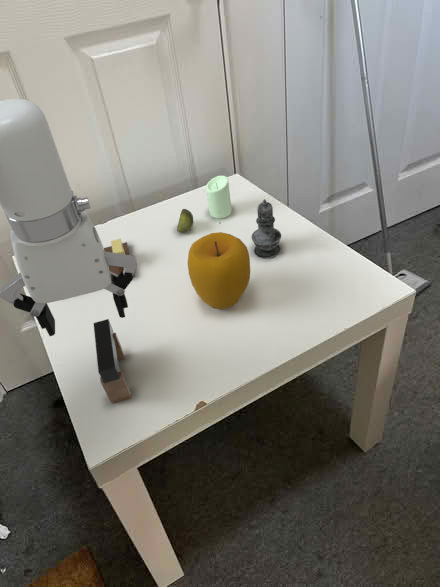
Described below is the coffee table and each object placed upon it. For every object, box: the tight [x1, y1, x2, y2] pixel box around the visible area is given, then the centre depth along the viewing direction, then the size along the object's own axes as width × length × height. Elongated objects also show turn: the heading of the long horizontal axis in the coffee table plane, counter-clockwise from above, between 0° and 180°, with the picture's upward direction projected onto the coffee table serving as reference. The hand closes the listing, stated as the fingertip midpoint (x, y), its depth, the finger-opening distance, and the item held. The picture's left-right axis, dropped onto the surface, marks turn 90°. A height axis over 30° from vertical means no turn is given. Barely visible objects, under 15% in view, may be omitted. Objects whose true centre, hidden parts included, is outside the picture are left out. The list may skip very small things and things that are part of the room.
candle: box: [205, 175, 233, 219], centre depth 101 cm, size 5×5×8 cm
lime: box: [176, 208, 194, 233], centre depth 99 cm, size 4×5×5 cm
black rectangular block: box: [93, 318, 120, 383], centre depth 71 cm, size 2×10×8 cm, turn 16°
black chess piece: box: [251, 198, 282, 260], centre depth 89 cm, size 6×6×12 cm
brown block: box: [99, 332, 132, 404], centre depth 72 cm, size 3×9×6 cm, turn 16°
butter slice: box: [110, 238, 125, 254], centre depth 93 cm, size 2×4×4 cm, turn 16°
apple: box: [187, 231, 251, 310], centre depth 80 cm, size 11×11×13 cm
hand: (87, 319), depth 64 cm, fingers open, 9 cm apart
